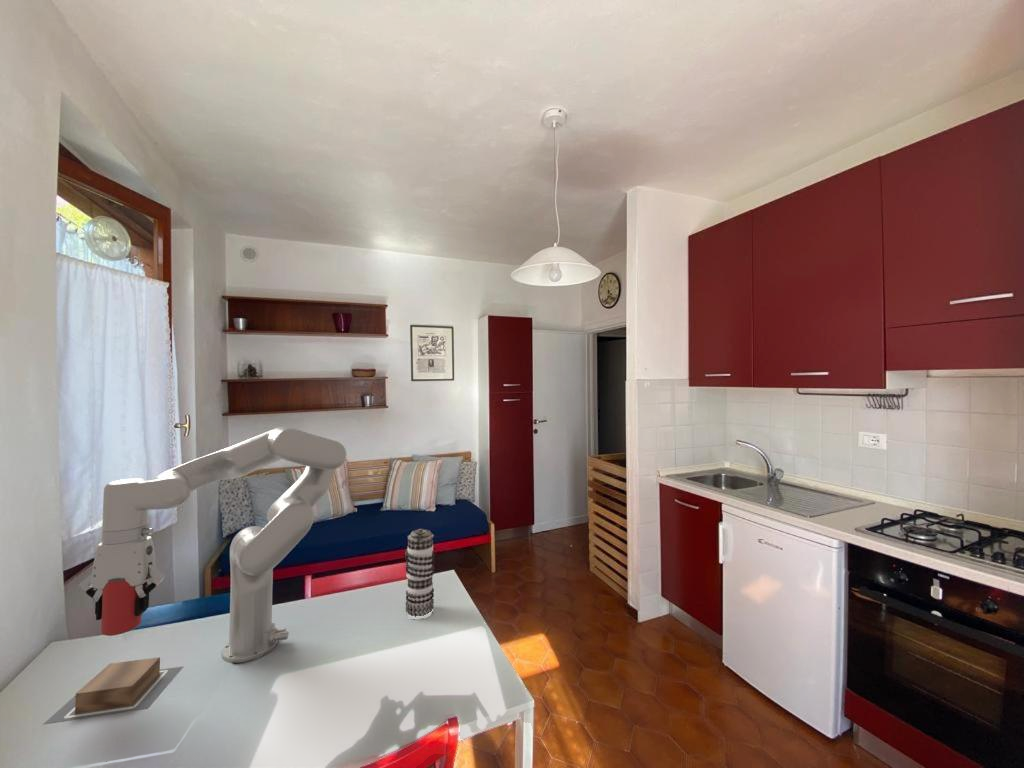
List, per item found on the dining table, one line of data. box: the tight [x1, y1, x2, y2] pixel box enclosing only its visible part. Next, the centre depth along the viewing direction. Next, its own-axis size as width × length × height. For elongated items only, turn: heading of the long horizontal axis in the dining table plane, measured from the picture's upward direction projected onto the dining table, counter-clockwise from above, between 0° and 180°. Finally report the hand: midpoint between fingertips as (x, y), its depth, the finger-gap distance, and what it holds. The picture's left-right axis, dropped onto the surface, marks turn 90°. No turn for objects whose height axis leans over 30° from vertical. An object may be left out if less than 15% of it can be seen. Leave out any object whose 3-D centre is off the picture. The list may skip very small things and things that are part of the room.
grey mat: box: [43, 666, 184, 725], centre depth 92 cm, size 18×14×1 cm
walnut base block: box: [75, 656, 161, 713], centre depth 92 cm, size 10×10×4 cm
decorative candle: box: [404, 528, 436, 617], centre depth 127 cm, size 9×9×25 cm
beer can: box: [100, 579, 143, 637], centre depth 92 cm, size 7×7×12 cm
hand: (122, 614), depth 92 cm, fingers closed on beer can, 6 cm apart
